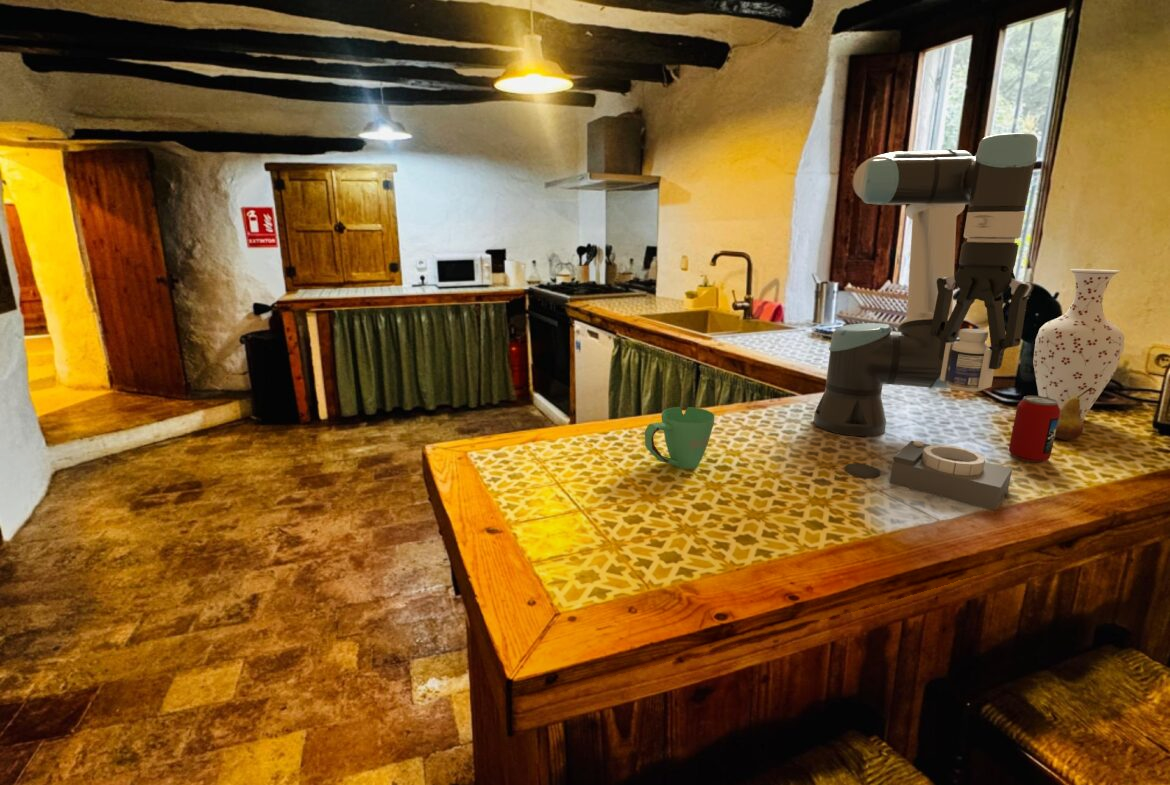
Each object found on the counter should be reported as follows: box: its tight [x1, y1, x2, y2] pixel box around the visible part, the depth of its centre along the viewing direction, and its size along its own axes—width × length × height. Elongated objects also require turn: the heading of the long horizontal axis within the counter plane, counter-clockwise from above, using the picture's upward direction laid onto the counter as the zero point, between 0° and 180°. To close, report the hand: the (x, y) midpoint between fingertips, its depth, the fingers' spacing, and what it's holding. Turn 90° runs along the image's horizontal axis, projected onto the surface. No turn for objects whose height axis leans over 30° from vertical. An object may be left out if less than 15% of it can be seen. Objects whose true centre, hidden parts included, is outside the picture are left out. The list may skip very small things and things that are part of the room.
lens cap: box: [843, 463, 881, 479], centre depth 112 cm, size 6×6×1 cm
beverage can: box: [1008, 395, 1060, 463], centre depth 118 cm, size 7×7×12 cm
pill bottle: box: [946, 328, 990, 393], centre depth 99 cm, size 5×5×10 cm
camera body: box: [889, 440, 1013, 512], centre depth 105 cm, size 16×11×6 cm
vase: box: [1032, 268, 1125, 422], centre depth 140 cm, size 16×16×35 cm
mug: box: [644, 406, 715, 470], centre depth 112 cm, size 15×10×10 cm
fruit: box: [1055, 387, 1092, 442], centre depth 128 cm, size 6×6×12 cm
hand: (964, 383), depth 100 cm, fingers closed on pill bottle, 5 cm apart
